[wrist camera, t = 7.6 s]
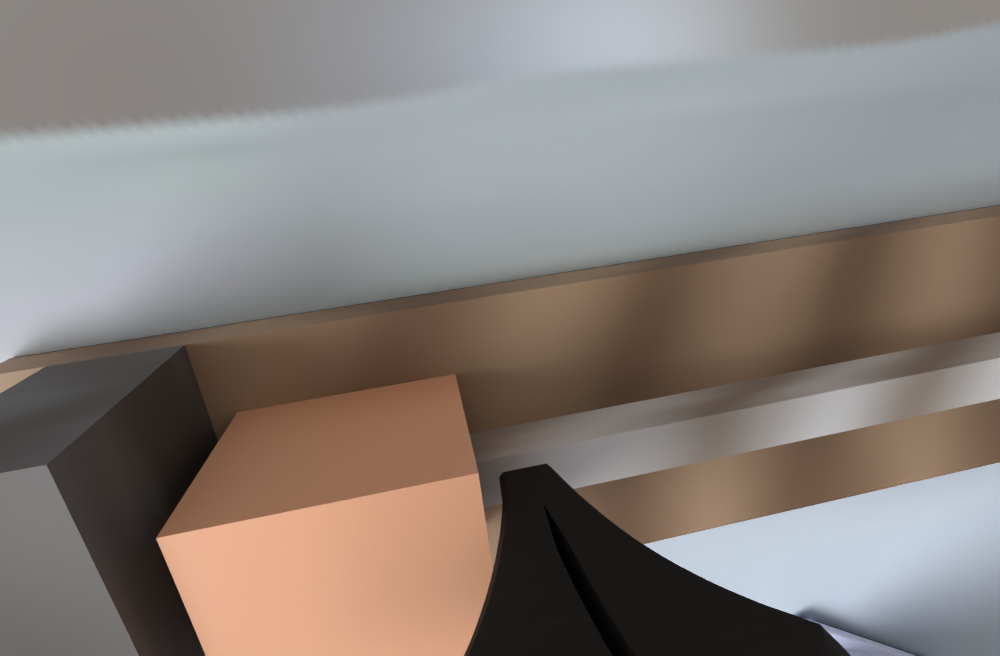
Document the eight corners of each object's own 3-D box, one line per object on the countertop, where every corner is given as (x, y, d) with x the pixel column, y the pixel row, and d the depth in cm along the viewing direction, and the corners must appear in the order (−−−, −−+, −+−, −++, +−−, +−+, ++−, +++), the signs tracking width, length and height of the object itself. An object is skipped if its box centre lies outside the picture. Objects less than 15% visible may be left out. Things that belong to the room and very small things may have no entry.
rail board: (1092, 190, 17) (1456, 210, 11) (1027, 430, 20) (1285, 544, 14) (10, 358, 13) (-324, 531, 7) (138, 628, 16) (-18, 906, 10)
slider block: (455, 374, 14) (478, 472, 9) (479, 526, 15) (507, 668, 11) (237, 412, 13) (155, 538, 9) (287, 568, 14) (240, 736, 10)
